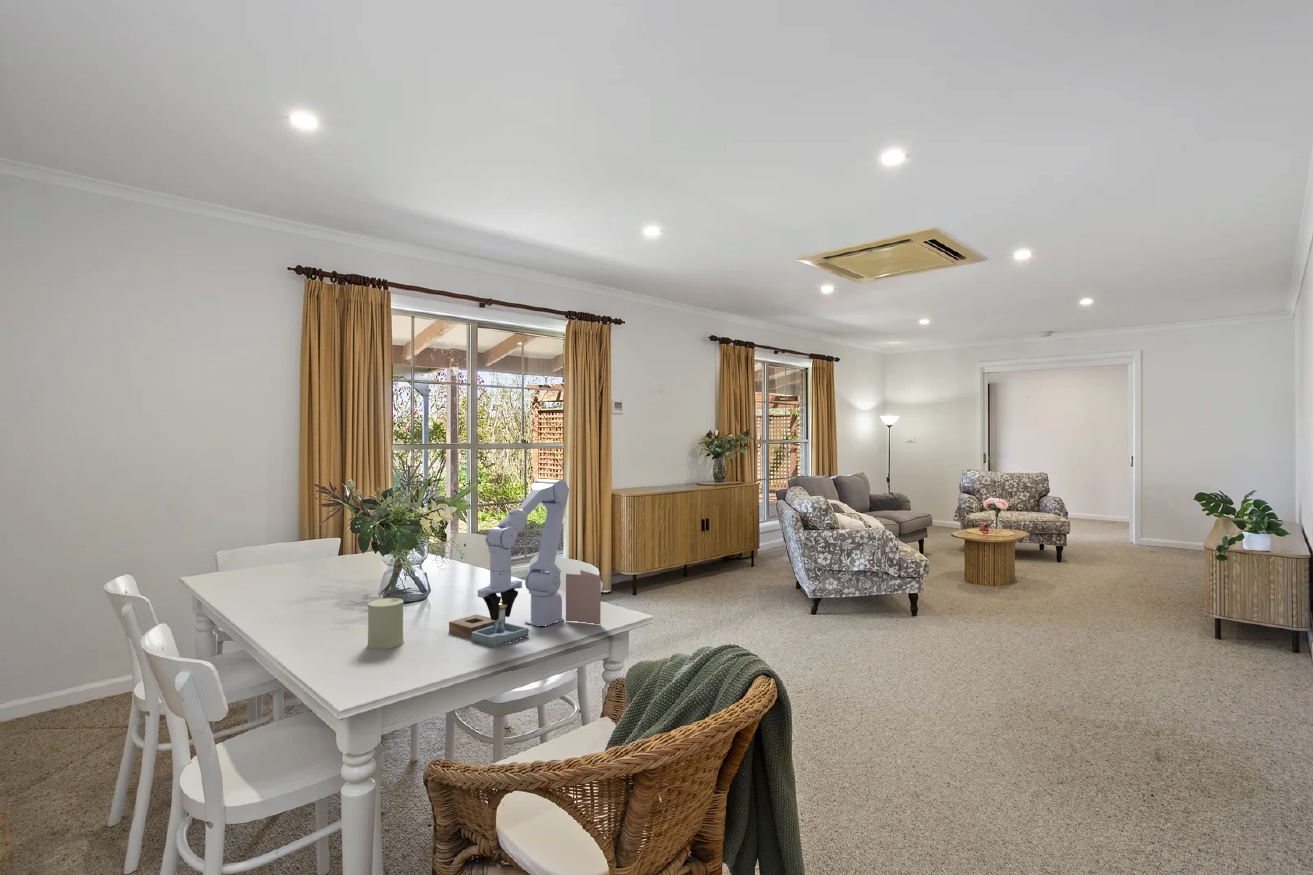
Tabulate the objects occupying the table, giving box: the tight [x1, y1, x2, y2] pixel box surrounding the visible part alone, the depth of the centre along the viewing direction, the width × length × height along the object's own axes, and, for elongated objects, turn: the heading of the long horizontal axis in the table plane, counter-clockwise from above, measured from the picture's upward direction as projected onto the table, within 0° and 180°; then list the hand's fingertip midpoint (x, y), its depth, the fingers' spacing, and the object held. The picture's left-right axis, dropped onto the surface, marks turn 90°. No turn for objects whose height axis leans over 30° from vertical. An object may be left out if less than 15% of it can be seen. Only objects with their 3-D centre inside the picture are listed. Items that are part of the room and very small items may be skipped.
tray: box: [471, 621, 530, 648], centre depth 184 cm, size 12×10×2 cm
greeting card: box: [565, 569, 602, 625], centre depth 200 cm, size 11×7×15 cm, turn 38°
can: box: [367, 597, 405, 650], centre depth 179 cm, size 9×9×12 cm
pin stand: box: [448, 613, 494, 639], centre depth 191 cm, size 10×10×3 cm
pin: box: [493, 601, 508, 634], centre depth 184 cm, size 4×4×8 cm
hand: (500, 617), depth 184 cm, fingers closed on pin, 4 cm apart
